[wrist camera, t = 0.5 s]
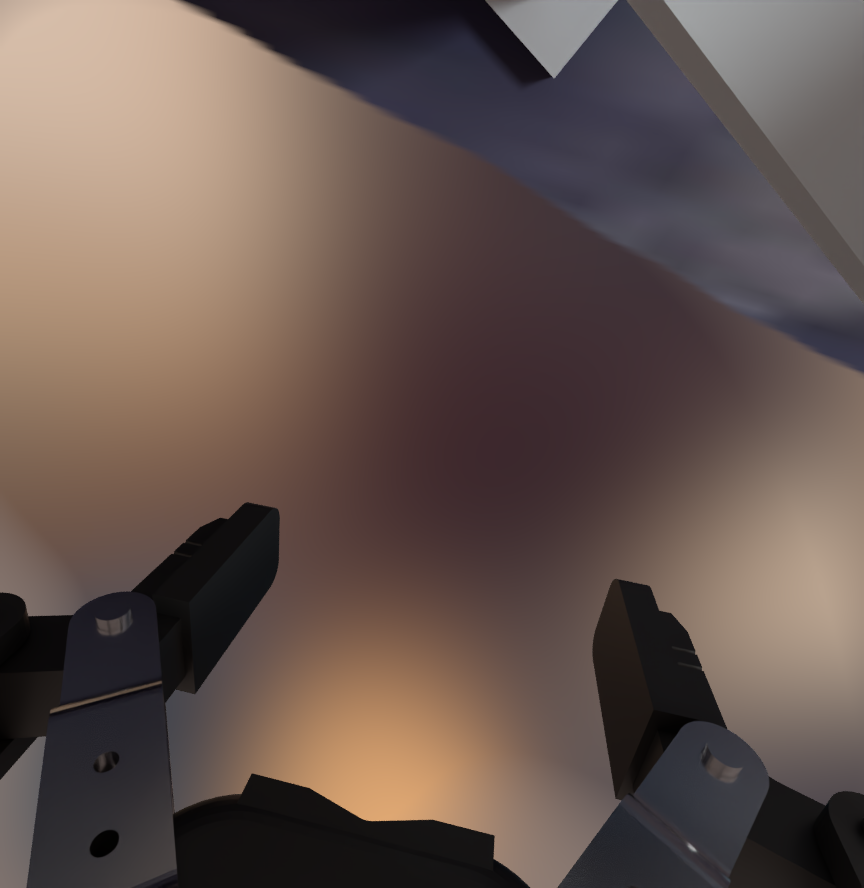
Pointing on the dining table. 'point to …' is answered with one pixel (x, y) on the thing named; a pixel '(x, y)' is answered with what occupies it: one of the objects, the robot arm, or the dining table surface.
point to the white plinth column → (755, 92)
